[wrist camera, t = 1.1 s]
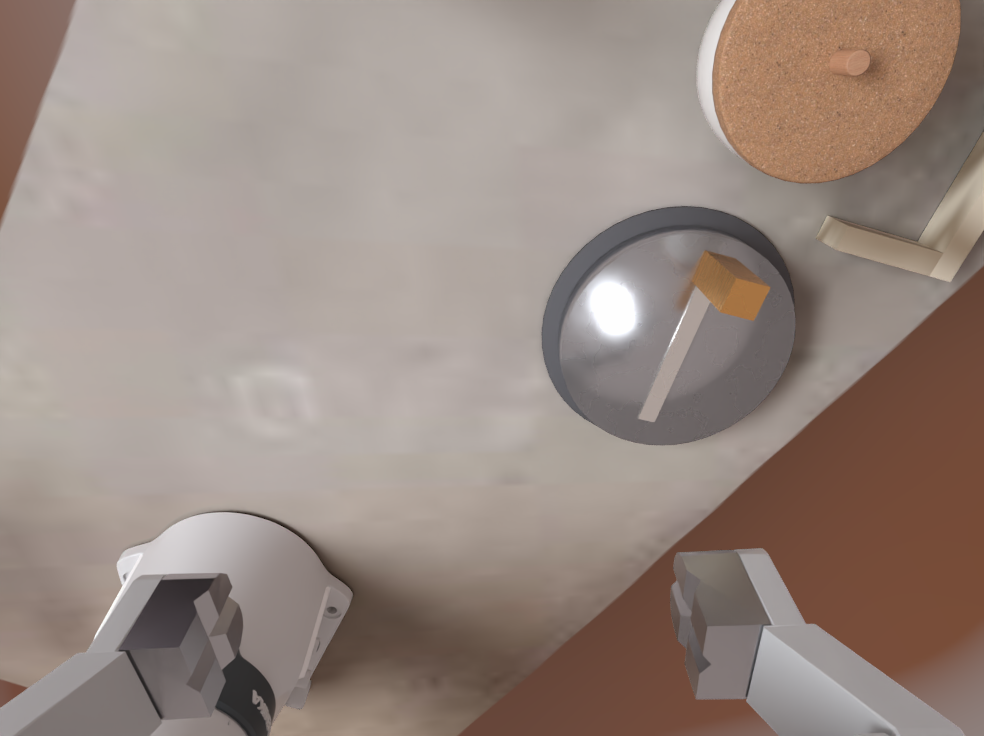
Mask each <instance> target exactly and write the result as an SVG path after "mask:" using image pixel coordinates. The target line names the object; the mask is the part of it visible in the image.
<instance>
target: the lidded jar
mask: <svg viewBox="0 0 984 736" xmlns="http://www.w3.org/2000/svg"><path fill="white" fill-rule="evenodd" d="M960 16H961V8H960V1H959V0H721V1H720V3H719V4H718V6H717V8H716V9H715V11H714V13H713V15H712V16H711V18H710V20H709V23H708V25H707V27H706V30H705V32H704V35H703V38H702V41H701V45H700V49H699V53H698V60H697V68H696V82H697V91H698V97H699V102H700V105H701V108H702V111H703V114H704V116H705V118H706V120H707V122H708V123H709V125H710V127H711V129H712V131H713V132H714V133H715V135H716V136H717V137H718V138H719V140H720V141H721V142H722V143H723V144H724V145H725V146H726V147H727V148H728V149H730V150H731V151H732V152H733V153H734V154H735V155H737V156H738V157H740V158H742V159H743V160H745V161H746V162H748V163H749V164H750V165H751V166H753V167H755V168H756V169H758V170H760V171H762V172H763V173H765V174H767V175H770V176H772V177H775V178H778V179H781V180H784V181H789V182H796V183H822V182H828V181H833V180H838V179H841V178H844V177H847V176H850V175H853V174H855V173H857V172H859V171H861V170H863V169H866V168H868V167H870V166H871V165H873V164H875V163H876V162H878V161H879V160H881V159H882V158H884V157H885V156H887V155H888V154H889V153H891V152H892V151H893V150H894V149H895V148H897V147H898V146H899V145H900V144H901V143H903V142H904V141H905V140H906V139H907V138H908V136H909V135H910V134H911V133H912V132H913V131H914V130H915V129H916V128H917V127H918V126H919V124H920V123H921V122H922V121H923V119H924V118H925V117H926V115H927V114H928V113H929V111H930V110H931V109H932V107H933V105H934V103H935V102H936V100H937V98H938V97H939V95H940V93H941V91H942V89H943V87H944V85H945V83H946V80H947V78H948V76H949V74H950V72H951V69H952V65H953V62H954V58H955V55H956V51H957V46H958V40H959V34H960Z"/></svg>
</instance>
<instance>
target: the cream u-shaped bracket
mask: <svg viewBox="0 0 984 736" xmlns="http://www.w3.org/2000/svg"><path fill="white" fill-rule="evenodd" d="M983 230H984V131H983V133H982V135H981V136H980V138H979V140H978V141H977V143H976V145H975V146H974V148H973V150H972V151H971V153H970V155H969V156H968V158H967V160H966V161H965V163H964V165H963V166H962V168H961V170H960V171H959V173H958V175H957V176H956V178H955V180H954V181H953V183H952V185H951V186H950V188H949V190H948V191H947V193H946V195H945V196H944V198H943V200H942V201H941V203H940V205H939V206H938V208H937V210H936V211H935V213H934V215H933V217H932V218H931V220H930V222H929V223H928V225H927V227H926V228H925V230H924V232H923V233H922V235H921V237H920V238H919V240H918V242H917V241H913V240H910V239H906V238H903V237H899V236H896V235H892V234H889V233H886V232H882V231H879V230H875V229H872V228H868V227H865V226H861V225H858V224H855V223H851V222H848V221H844V220H841V219H837V218H834V217H830V216H827V217H826V219H825V221H824V223H823V225H822V227H821V229H820V231H819V233H818V235H817V237H816V239H818V240H819V241H821V242H823V243H825V244H826V245H828V246H830V247H832V248H833V249H835V250H838V251H841V252H845V253H849V254H852V255H856V256H859V257H863V258H866V259H870V260H873V261H877V262H880V263H884V264H888V265H891V266H895V267H898V268H902V269H905V270H909V271H912V272H916V273H919V274H923V275H927V276H930V277H934V278H937V279H941V280H944V281H948V282H951V280H952V279H953V277H954V275H955V274H956V272H957V271H958V269H959V268H960V266H961V265H962V263H963V261H964V260H965V258H966V257H967V255H968V254H969V252H970V251H971V249H972V247H973V246H974V244H975V243H976V241H977V240H978V238H979V237H980V235H981V233H982V232H983Z"/></svg>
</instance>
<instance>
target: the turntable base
mask: <svg viewBox="0 0 984 736" xmlns="http://www.w3.org/2000/svg"><path fill="white" fill-rule="evenodd" d="M682 225H689V226H702V227H707V228H712V229H716V230H719V231H722V232H725V233H728V234H730V235H732V236H734V237H736V238H738V239H740V240H741V241H743V242H744V243H746V244H747V245H749V246H750V247H751V248H753V249H754V250H755V251H757V252H758V253H759V254H761V255H762V256H763V257H765V258H766V259H767V260H768V261H769V262H770V263H771V264H772V265H773V266H774V267H775V268H776V269H777V271H778V272H779V274H780V275H781V277H782V278H783V280H784V281H785V283H786V285H787V287H788V290H789V292H790V294H791V298H792V301H793V305H794V295H793V287H792V283H791V280H790V276H789V273H788V270H787V268H786V266H785V264H784V262H783V259H782V258H781V256H780V255H779V254H778V252H777V251H776V249H775V248H774V246H773V245H772V244H771V243H770V242H769V241H768V240H767V239H766V238H765V237H764V236H763V235H762V234H761V233H760V232H758V231H757V230H756V229H754V228H753V227H752V226H750V225H749V224H747V223H745V222H743V221H742V220H740V219H738V218H736V217H734V216H731V215H729V214H726V213H723V212H720V211H717V210H712V209H707V208H702V207H687V206H682V207H667V208H662V209H656V210H651V211H647V212H644V213H641V214H638V215H635V216H632V217H630V218H628V219H625V220H623V221H621V222H619V223H617V224H615V225H613V226H612V227H610V228H608V229H607V230H605V231H604V232H602V233H600V234H599V235H598V236H596V237H595V238H594V239H593V240H591V241H590V242H589V243H588V244H586V245H585V246H584V247H583V248H582V249H581V250H580V251H579V252H578V253H577V254H576V255H575V257H574V258H573V259H572V260H571V261H570V263H569V264H568V265H567V267H566V268H565V269H564V271H563V272H562V273H561V275H560V277H559V279H558V280H557V282H556V284H555V286H554V288H553V290H552V292H551V295H550V297H549V300H548V302H547V306H546V310H545V314H544V318H543V327H542V349H543V355H544V360H545V364H546V367H547V370H548V373H549V376H550V378H551V380H552V382H553V384H554V386H555V388H556V390H557V391H558V393H559V394H560V395H561V397H562V398H563V400H564V401H565V402H566V403H567V404H568V405H569V406H570V407H571V408H572V409H573V410H574V411H575V412H576V413H578V414H579V415H580V416H582V417H583V418H584V419H586V420H588V421H589V422H591V423H593V422H592V421H590V420H589V419H588V418H587V417H586V416H585V415H584V414H583V412H582V411H581V410H580V409H579V408H578V406H577V405H576V403H575V402H574V400H573V399H572V397H571V395H570V393H569V391H568V389H567V385H566V382H565V379H564V376H563V372H562V368H561V365H560V360H559V354H558V330H559V323H560V319H561V316H562V312H563V309H564V306H565V304H566V302H567V299H568V297H569V295H570V293H571V292H572V290H573V288H574V287H575V285H576V283H577V282H578V281H579V279H580V278H581V277H582V275H583V274H584V273H585V272H586V270H587V269H588V268H589V267H590V266H591V265H592V264H593V263H594V262H595V261H596V260H597V259H599V258H600V257H601V256H602V255H604V254H605V253H606V252H608V251H609V250H610V249H612V248H613V247H615V246H617V245H618V244H620V243H622V242H623V241H625V240H627V239H630V238H632V237H634V236H636V235H638V234H641V233H644V232H647V231H650V230H653V229H658V228H664V227H669V226H682ZM593 424H594V423H593ZM594 425H596V424H594ZM596 426H597V425H596Z"/></svg>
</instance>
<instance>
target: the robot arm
mask: <svg viewBox="0 0 984 736" xmlns="http://www.w3.org/2000/svg"><path fill="white" fill-rule="evenodd" d="M673 569H674V572H675V575H676V578H677V581H676V582H675V583H674V584H673V585H672V586H671V598H670V604H671V616H672V621H673V626H674V629H675V633H676V637H677V640H678V641H679V642H680V643H681V644H682V645H683V646H684V647H685V648H687V650H686V657H685V666H686V669H687V673H688V676H689V679H690V682H691V685H692V689H693V692H694V695H695V698H696V699H747V702H748V703H749V705H750V706H751V707H752V708H753V709H754V710H755V711H756V712H757V713H758V714H759V715H760V716H761V717H762V718H763V719H764V720H765V721H766V723H768V725H769V726H770V727H771V728H772V729H773V730H774V731H775V732H776V733H777V734H778V735H779V736H965V735H964V733H963V732H962V730H961V729H960V728H959V727H958V726H956V725H955V724H953V723H952V722H951V721H949V720H948V719H946V718H945V717H944V716H942V715H941V714H939V713H938V712H937V711H935V710H934V709H932V708H931V707H930V706H928V705H927V704H925V703H924V702H923V701H921V700H920V699H919V698H917V697H916V696H914V695H913V694H911V693H910V692H909V691H907V690H906V689H905V688H903V687H902V686H900V685H899V684H897V683H896V682H895V681H893V680H892V679H891V678H889V677H888V676H887V675H885V674H884V673H882V672H881V671H880V670H878V669H877V668H875V667H874V666H873V665H871V664H870V663H868V662H867V661H866V660H864V659H863V658H861V657H860V656H858V655H857V654H856V653H854V652H853V651H852V650H850V649H849V648H848V647H846V646H844V645H843V644H842V643H841V642H839V641H838V640H836V639H835V638H834V637H832V636H831V635H829V634H828V633H826V632H825V631H824V630H822V629H821V628H820V627H818V626H817V625H816V624H806V623H805V621H804V620H803V618H802V616H801V614H800V612H799V610H798V608H797V607H796V605H795V603H794V601H793V599H792V597H791V595H790V594H789V592H788V590H787V588H786V586H785V584H784V583H783V581H782V579H781V577H780V575H779V573H778V571H777V569H776V568H775V566H774V564H773V562H772V560H771V558H770V557H769V555H768V553H767V552H766V551H765V550H764V549H762V548H759V549H741V550H733V551H732V550H719V551H702V552H701V551H700V552H681V553H677V554H676V556H675V559H674V567H673ZM117 570H118V573H119V577H120V580H121V584H122V588H121V590H120V592H119V593H118V595H117V597H116V599H115V601H114V602H113V604H112V606H111V608H110V610H109V611H108V613H107V615H106V617H105V619H104V620H103V622H102V624H101V626H100V628H99V630H98V631H97V633H96V635H95V638H94V641H93V642H92V644H91V645H90V647H89V649H88V650H87V652H86V653H77V654H75V655H74V656H73V657H71V658H70V659H68V660H67V661H66V662H64V663H63V664H61V665H60V666H59V667H57V668H56V669H54V670H53V671H52V672H50V673H49V674H47V675H46V676H45V677H43V678H42V679H40V680H39V681H38V682H36V683H35V684H33V685H32V686H31V687H29V688H28V689H26V690H25V691H24V692H23V693H21V694H20V695H18V696H17V697H16V698H14V699H12V700H11V701H10V702H8V703H7V704H5V705H4V706H3V707H1V708H0V736H269V735H270V732H271V726H272V724H273V723H274V721H275V719H276V718H277V716H278V715H279V713H280V711H281V710H282V708H283V706H284V705H286V706H289V707H292V708H296V709H302V708H303V706H304V704H305V701H306V698H307V696H308V692H309V689H310V685H311V680H310V678H311V676H312V674H313V672H314V670H315V668H316V667H317V665H318V663H319V661H320V659H321V657H322V656H323V654H324V652H325V650H326V648H327V646H328V645H329V643H330V641H331V639H332V637H333V636H334V634H335V632H336V630H337V628H338V626H339V625H340V623H341V621H342V619H343V617H344V615H345V614H346V612H347V610H348V608H349V606H350V603H351V600H352V597H353V593H352V591H351V590H350V589H349V587H347V586H346V585H345V584H344V583H343V582H341V581H340V580H338V579H337V578H335V577H334V576H333V575H331V574H330V573H329V572H328V571H327V570H326V568H325V567H324V566H323V564H322V562H321V561H320V559H319V558H318V556H317V555H316V553H315V552H314V551H313V550H312V549H311V547H310V546H309V545H308V544H307V543H305V542H304V541H303V540H302V539H301V538H300V537H298V536H297V535H296V534H294V533H293V532H291V531H289V530H288V529H286V528H284V527H282V526H280V525H278V524H276V523H274V522H271V521H269V520H266V519H263V518H259V517H256V516H252V515H247V514H241V513H230V512H217V513H206V514H201V515H196V516H193V517H190V518H187V519H184V520H182V521H180V522H178V523H176V524H174V525H173V526H171V527H170V528H168V529H167V530H166V531H165V532H164V533H162V534H161V535H160V536H159V537H158V538H156V539H155V540H153V541H152V542H149V543H145V544H142V545H138V546H135V547H132V548H129V549H127V550H125V551H124V552H123V553H122V555H121V557H120V559H119V560H118V562H117Z"/></svg>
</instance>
